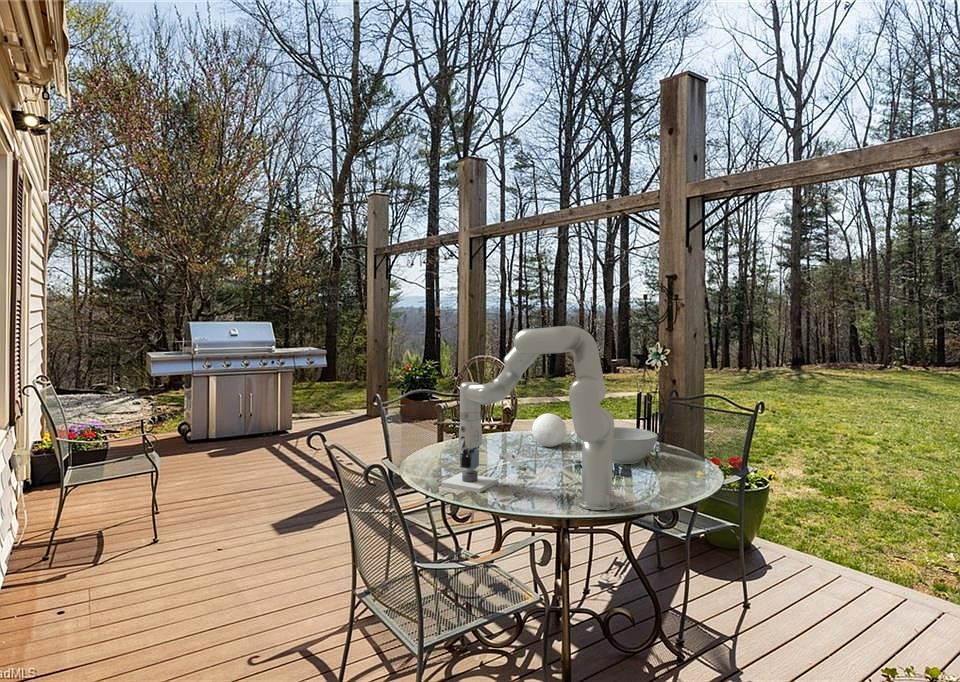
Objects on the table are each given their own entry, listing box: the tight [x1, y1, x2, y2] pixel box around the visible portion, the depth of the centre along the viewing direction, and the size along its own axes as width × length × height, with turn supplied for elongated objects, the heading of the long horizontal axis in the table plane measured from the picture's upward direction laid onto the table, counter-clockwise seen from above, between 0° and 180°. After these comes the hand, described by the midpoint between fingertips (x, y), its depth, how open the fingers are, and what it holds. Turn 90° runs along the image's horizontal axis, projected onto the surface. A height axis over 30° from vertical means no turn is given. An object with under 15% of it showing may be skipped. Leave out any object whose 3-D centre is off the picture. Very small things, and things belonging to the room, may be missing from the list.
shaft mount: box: [440, 469, 499, 494], centre depth 199 cm, size 16×14×10 cm
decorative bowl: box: [612, 426, 659, 465], centre depth 233 cm, size 27×27×12 cm
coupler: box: [459, 447, 480, 470], centre depth 198 cm, size 5×5×7 cm
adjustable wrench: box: [498, 451, 525, 471], centre depth 230 cm, size 25×6×2 cm, turn 9°
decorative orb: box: [531, 412, 567, 448], centre depth 260 cm, size 20×18×16 cm
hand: (469, 465), depth 198 cm, fingers closed on coupler, 5 cm apart
